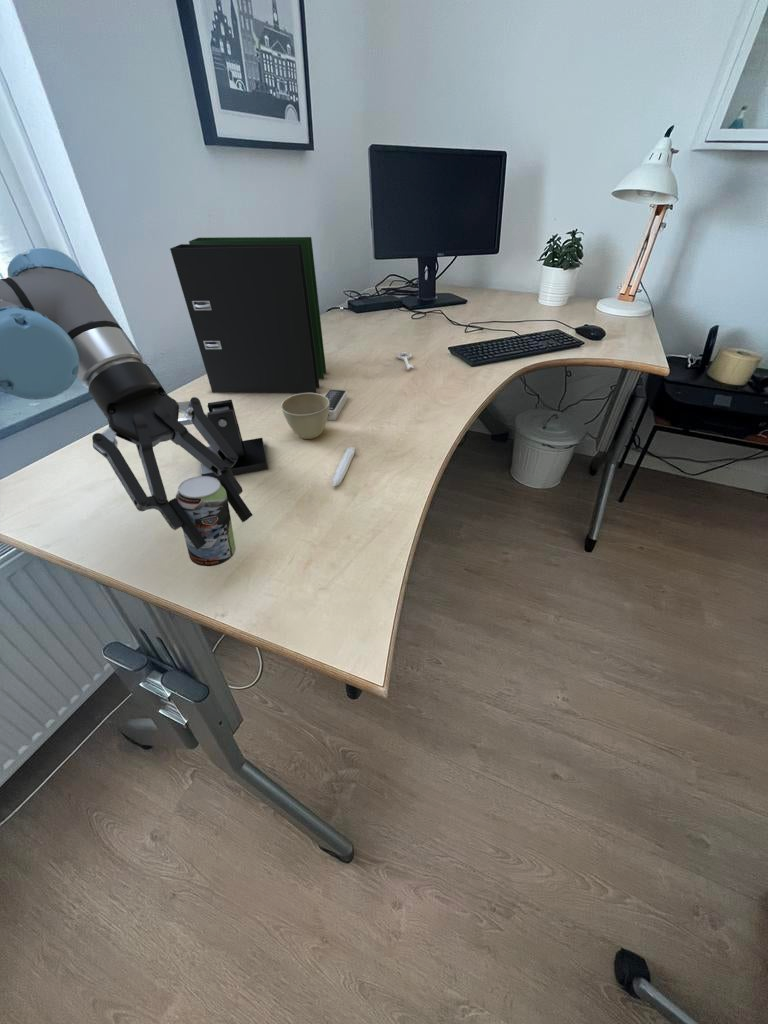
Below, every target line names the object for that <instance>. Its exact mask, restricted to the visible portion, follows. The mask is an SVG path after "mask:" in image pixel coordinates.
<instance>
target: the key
mask: <svg viewBox="0 0 768 1024" xmlns="http://www.w3.org/2000/svg"><path fill="white" fill-rule="evenodd" d="M396 358H397V359H399V360H404V364H405V368H406V370H407V371H410V369H414V366H413V364H412V363H411V364H409V361H408V360H410V359H411V358H412V353H410V352H405V351H402V352H398V353H397V355H396Z"/></svg>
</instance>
